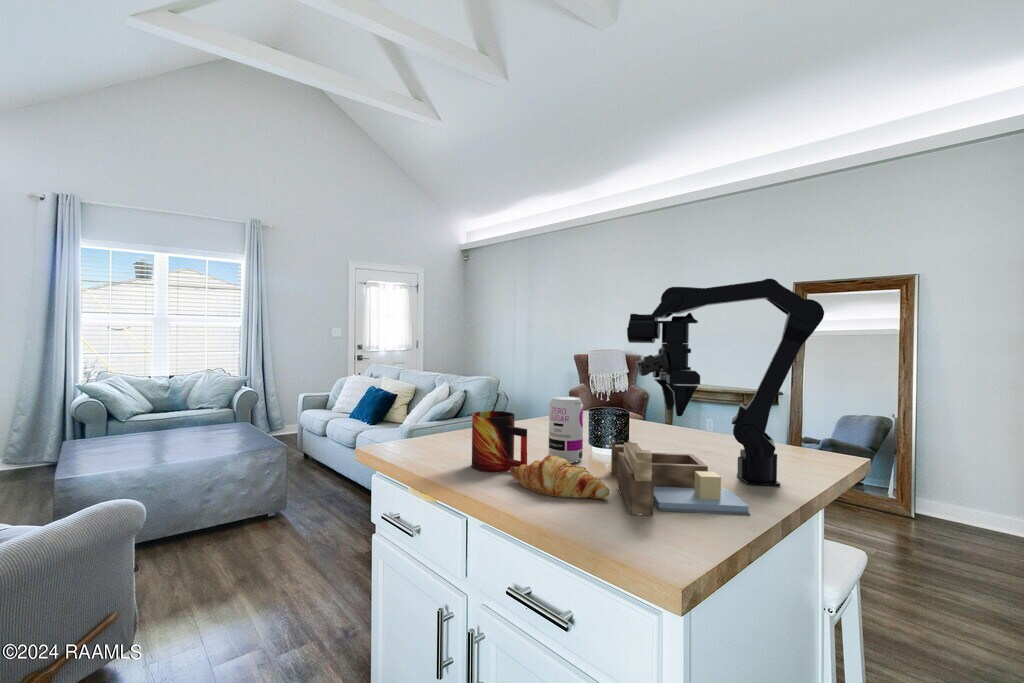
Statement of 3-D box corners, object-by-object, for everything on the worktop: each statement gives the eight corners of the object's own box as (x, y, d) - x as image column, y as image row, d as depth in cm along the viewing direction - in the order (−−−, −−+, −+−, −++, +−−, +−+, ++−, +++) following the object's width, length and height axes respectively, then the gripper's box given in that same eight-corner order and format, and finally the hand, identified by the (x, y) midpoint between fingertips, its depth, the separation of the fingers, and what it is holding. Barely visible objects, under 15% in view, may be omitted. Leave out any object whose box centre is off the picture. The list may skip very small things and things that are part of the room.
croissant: (613, 515, 90) (621, 473, 93) (598, 504, 82) (607, 458, 85) (515, 492, 101) (525, 455, 104) (494, 481, 93) (505, 441, 96)
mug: (525, 476, 102) (526, 420, 102) (465, 470, 106) (466, 416, 106) (536, 464, 112) (536, 413, 112) (480, 459, 116) (480, 410, 115)
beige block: (636, 458, 93) (636, 434, 93) (651, 481, 78) (651, 453, 78) (623, 457, 94) (624, 434, 93) (636, 480, 79) (636, 452, 79)
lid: (729, 494, 91) (730, 468, 91) (748, 512, 82) (749, 482, 82) (648, 491, 92) (649, 465, 92) (658, 507, 83) (659, 479, 83)
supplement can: (581, 456, 120) (582, 396, 120) (583, 465, 112) (584, 400, 112) (548, 455, 121) (549, 395, 121) (548, 463, 113) (549, 399, 113)
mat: (728, 495, 91) (728, 494, 91) (749, 514, 81) (750, 513, 81) (648, 492, 93) (648, 490, 93) (659, 510, 83) (659, 509, 83)
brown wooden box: (689, 474, 105) (690, 442, 105) (733, 519, 79) (734, 477, 79) (611, 471, 107) (611, 439, 107) (628, 514, 81) (629, 473, 81)
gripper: (632, 342, 118) (631, 406, 118) (646, 343, 99) (645, 418, 100) (678, 343, 117) (677, 407, 117) (701, 344, 98) (700, 420, 99)
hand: (673, 412), depth 108 cm, fingers open, 9 cm apart
